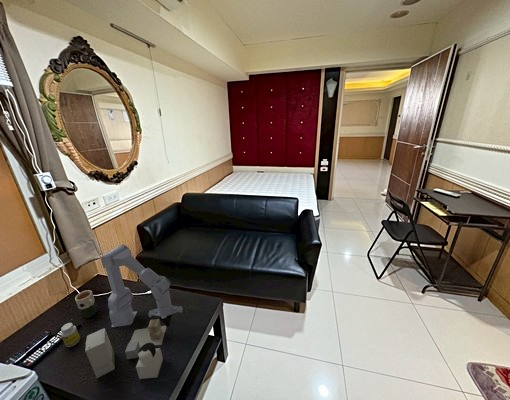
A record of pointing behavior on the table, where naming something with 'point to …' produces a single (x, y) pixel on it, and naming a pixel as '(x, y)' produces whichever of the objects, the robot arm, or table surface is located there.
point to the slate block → (132, 350)
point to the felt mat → (146, 337)
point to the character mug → (86, 303)
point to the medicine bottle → (149, 361)
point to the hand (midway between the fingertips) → (168, 324)
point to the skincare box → (100, 352)
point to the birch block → (155, 329)
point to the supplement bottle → (70, 335)
